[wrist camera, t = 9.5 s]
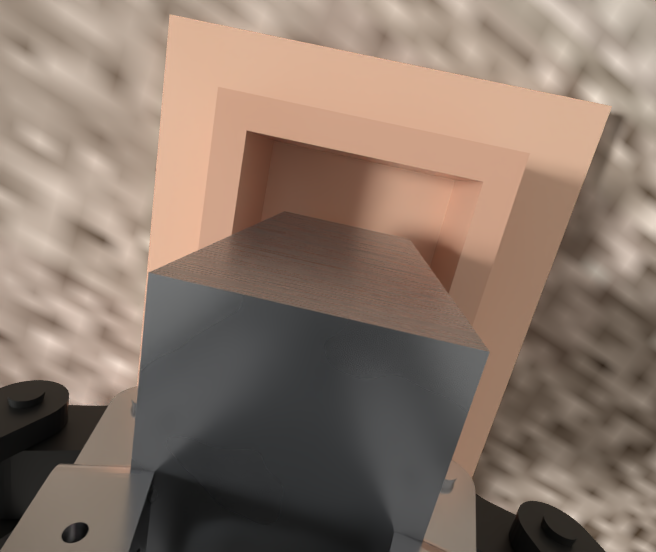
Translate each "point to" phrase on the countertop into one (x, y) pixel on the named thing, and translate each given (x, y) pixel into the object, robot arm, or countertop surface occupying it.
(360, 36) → the countertop surface
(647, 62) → the countertop surface
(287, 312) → the grey rectangular block
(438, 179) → the caddy
